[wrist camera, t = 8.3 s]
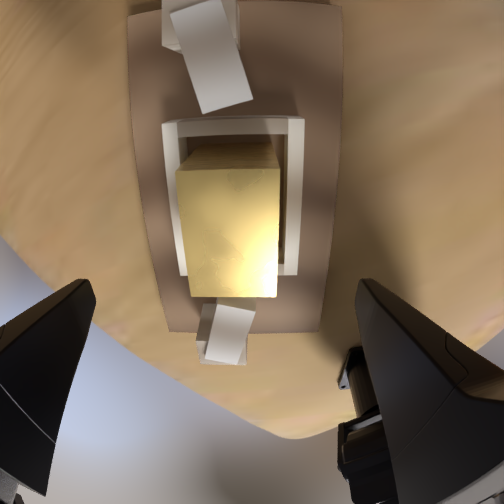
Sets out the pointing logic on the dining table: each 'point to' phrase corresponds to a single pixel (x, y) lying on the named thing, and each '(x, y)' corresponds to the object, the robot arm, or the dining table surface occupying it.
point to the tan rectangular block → (230, 219)
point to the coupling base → (233, 131)
